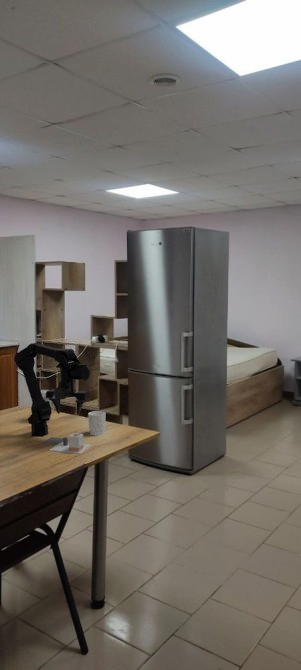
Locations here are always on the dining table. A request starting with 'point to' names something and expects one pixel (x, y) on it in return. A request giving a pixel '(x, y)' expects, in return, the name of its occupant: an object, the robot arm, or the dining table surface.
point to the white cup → (97, 423)
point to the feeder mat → (53, 440)
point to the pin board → (65, 447)
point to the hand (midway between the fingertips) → (68, 414)
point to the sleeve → (76, 442)
